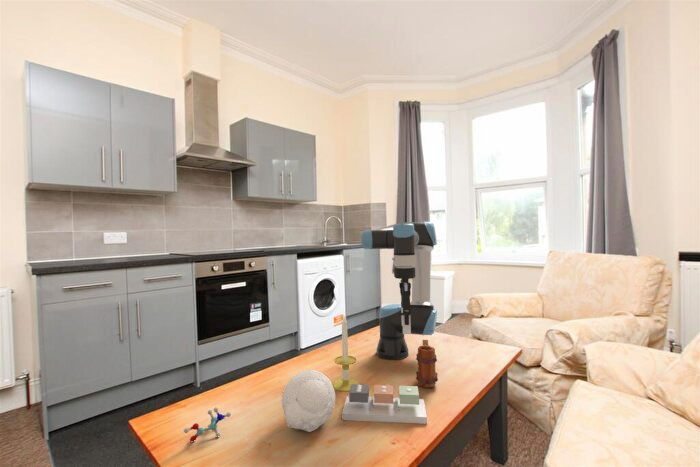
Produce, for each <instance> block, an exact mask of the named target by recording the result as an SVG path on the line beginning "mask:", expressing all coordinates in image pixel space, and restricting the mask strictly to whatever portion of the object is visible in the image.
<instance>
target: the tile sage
mask: <svg viewBox="0 0 700 467" xmlns="http://www.w3.org/2000/svg"><path fill="white" fill-rule="evenodd" d="M398 393H399V395H398V396H399V397H398V398H400V404H412V405H419V399H420V393H419V387H418V386H417V385H399V386H398Z"/></svg>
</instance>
